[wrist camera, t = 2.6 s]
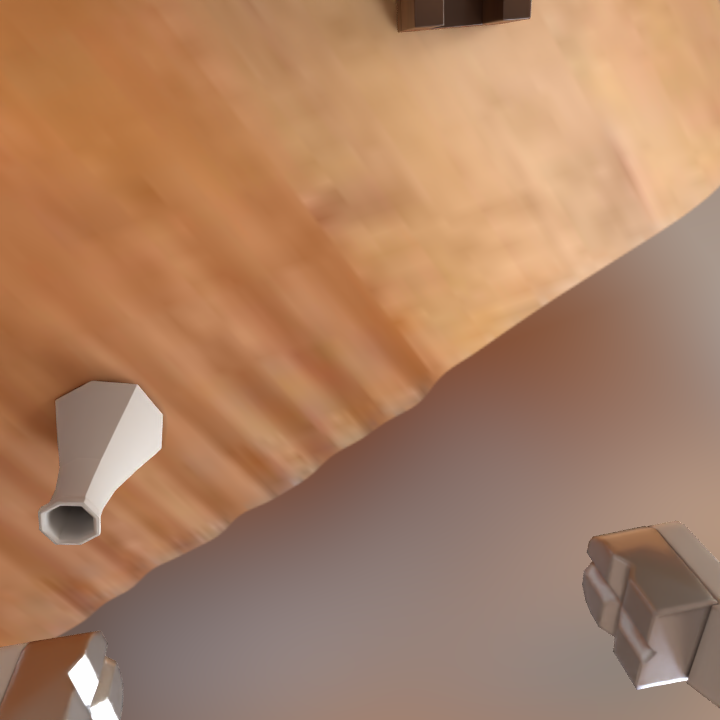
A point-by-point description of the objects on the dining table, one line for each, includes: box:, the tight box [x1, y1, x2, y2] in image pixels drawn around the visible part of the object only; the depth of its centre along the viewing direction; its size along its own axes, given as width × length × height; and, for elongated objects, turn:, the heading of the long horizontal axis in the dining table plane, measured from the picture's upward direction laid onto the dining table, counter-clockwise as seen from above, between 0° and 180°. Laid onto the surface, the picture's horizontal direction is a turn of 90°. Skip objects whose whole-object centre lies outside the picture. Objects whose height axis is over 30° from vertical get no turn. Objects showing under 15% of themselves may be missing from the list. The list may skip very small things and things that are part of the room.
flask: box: [38, 381, 163, 545], centre depth 35 cm, size 7×7×10 cm
